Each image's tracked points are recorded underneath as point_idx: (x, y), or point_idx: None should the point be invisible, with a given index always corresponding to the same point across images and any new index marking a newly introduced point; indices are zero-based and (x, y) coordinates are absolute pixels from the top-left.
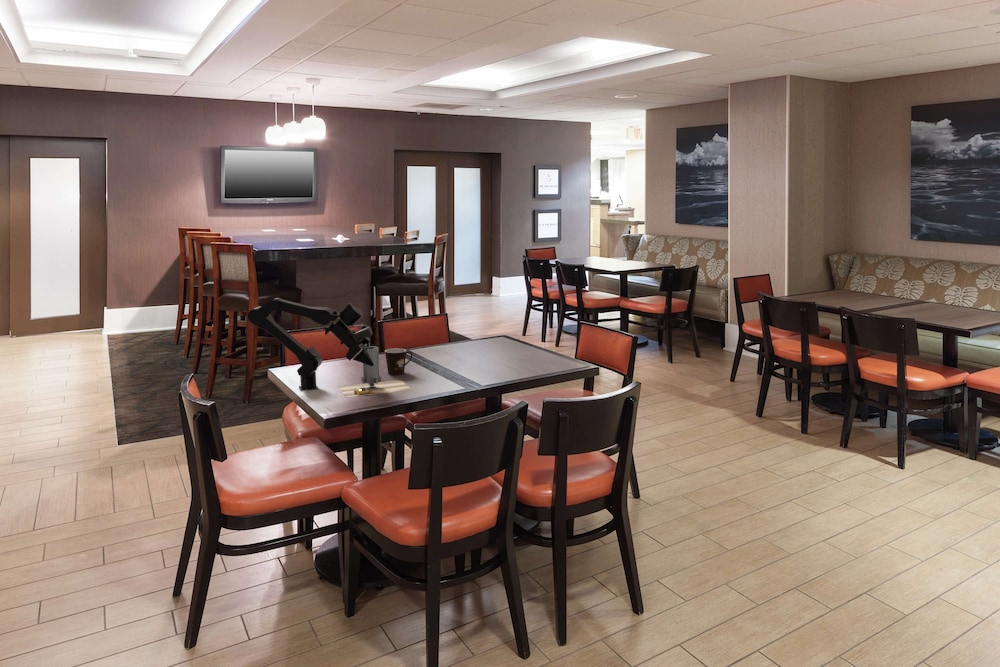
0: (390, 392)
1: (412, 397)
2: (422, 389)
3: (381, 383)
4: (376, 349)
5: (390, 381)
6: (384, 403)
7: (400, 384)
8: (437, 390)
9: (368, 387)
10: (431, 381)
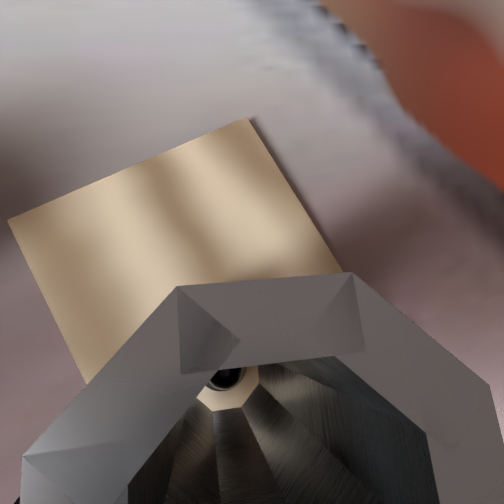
0: (312, 222)
1: (348, 112)
2: (197, 83)
3: (105, 330)
4: (362, 291)
5: (46, 281)
6: (468, 218)
7: (129, 200)
8: (210, 17)
9: (237, 384)
10: (13, 52)
